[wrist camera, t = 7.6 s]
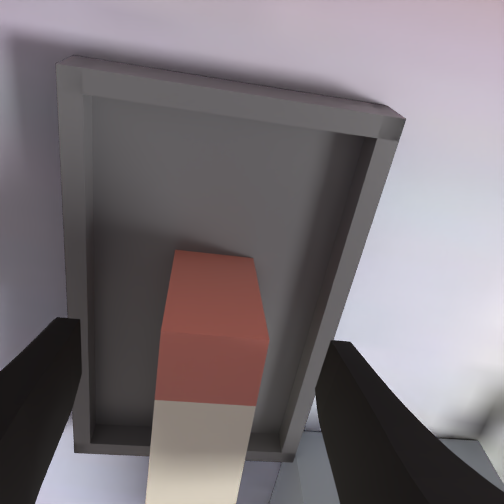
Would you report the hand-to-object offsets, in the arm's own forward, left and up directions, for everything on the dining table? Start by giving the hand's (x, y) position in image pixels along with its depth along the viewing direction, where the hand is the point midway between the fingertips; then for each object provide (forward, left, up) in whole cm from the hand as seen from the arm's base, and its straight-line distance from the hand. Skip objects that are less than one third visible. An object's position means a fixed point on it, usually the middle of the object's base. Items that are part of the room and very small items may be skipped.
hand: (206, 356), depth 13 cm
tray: (0, 0, -3) cm, 3 cm away
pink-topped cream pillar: (-3, 0, -2) cm, 4 cm away
